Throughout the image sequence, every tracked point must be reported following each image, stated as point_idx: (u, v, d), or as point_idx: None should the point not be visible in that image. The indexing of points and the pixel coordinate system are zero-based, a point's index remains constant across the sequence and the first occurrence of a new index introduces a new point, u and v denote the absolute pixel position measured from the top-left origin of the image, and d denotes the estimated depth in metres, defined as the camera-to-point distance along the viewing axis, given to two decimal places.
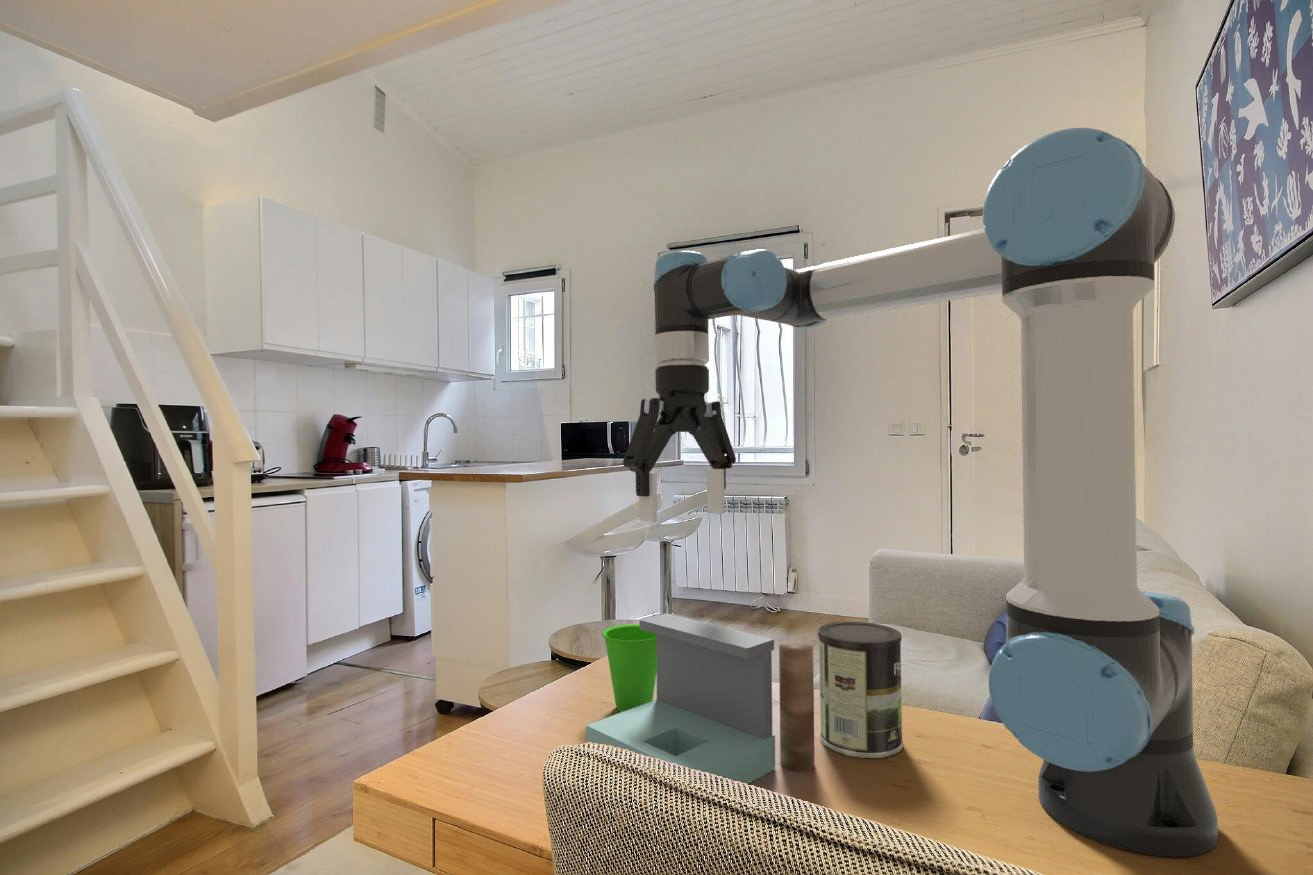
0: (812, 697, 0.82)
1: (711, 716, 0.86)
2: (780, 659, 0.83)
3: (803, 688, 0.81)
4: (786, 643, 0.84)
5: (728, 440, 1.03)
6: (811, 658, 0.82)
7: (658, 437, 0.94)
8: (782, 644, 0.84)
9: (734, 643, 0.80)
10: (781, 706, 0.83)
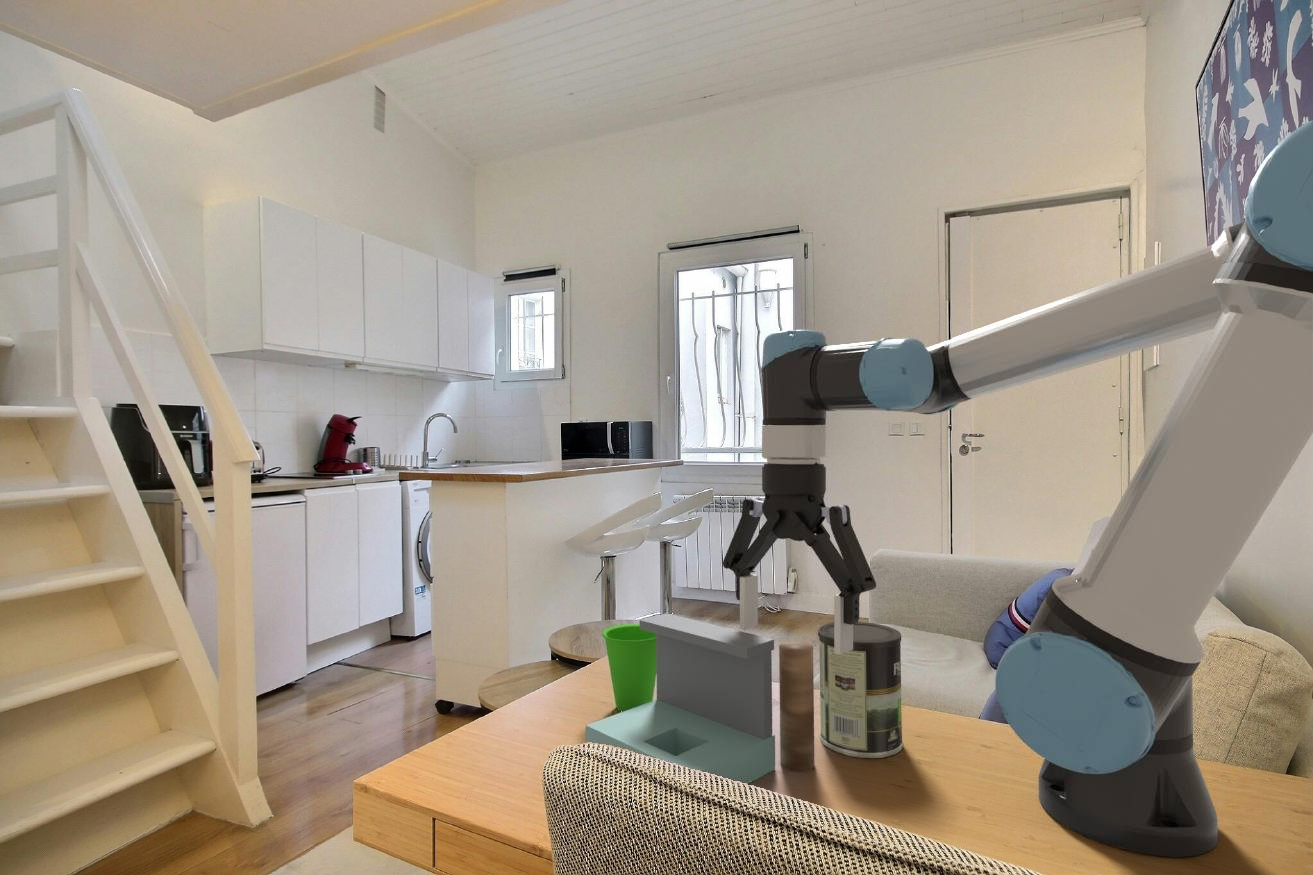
0: (812, 697, 0.82)
1: (711, 716, 0.86)
2: (780, 659, 0.83)
3: (803, 688, 0.81)
4: (786, 643, 0.84)
5: (851, 559, 0.77)
6: (811, 658, 0.82)
7: None
8: (782, 644, 0.84)
9: (734, 643, 0.80)
10: (781, 706, 0.83)
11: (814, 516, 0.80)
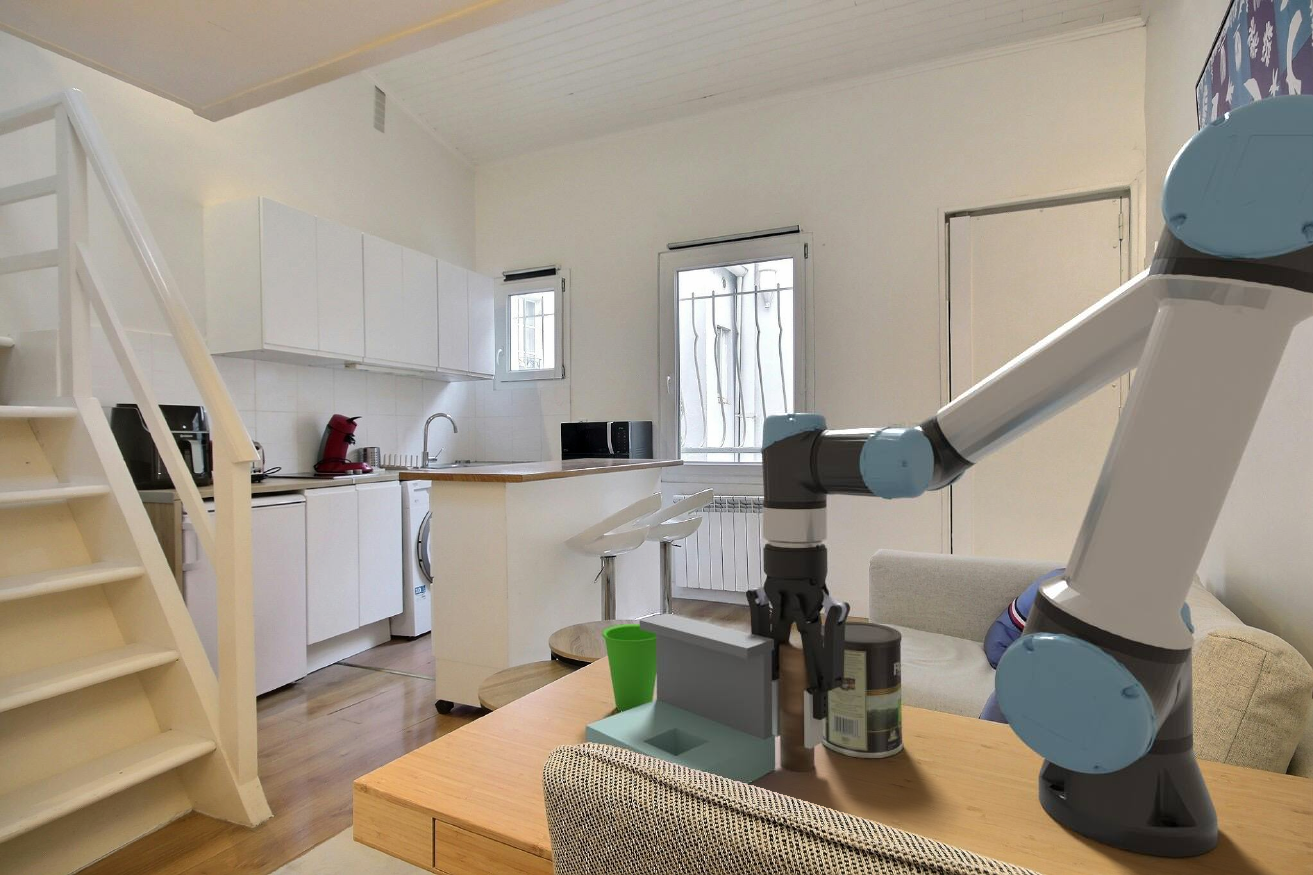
0: None
1: (711, 716, 0.86)
2: (780, 659, 0.83)
3: (803, 688, 0.81)
4: (786, 643, 0.84)
5: (830, 659, 0.78)
6: None
7: None
8: (782, 644, 0.84)
9: (734, 643, 0.80)
10: (781, 706, 0.83)
11: (814, 601, 0.80)
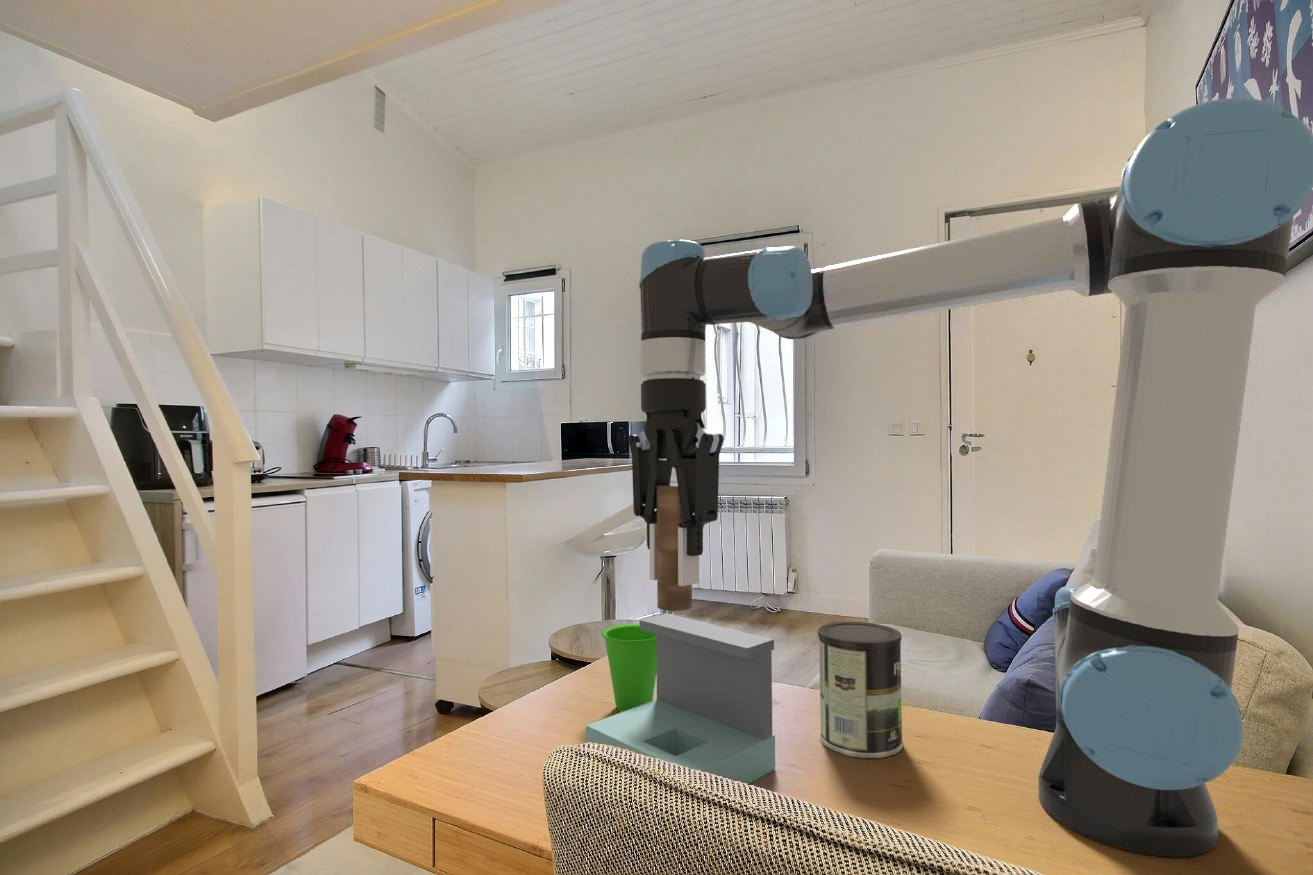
0: None
1: (711, 716, 0.86)
2: (657, 498, 0.80)
3: (678, 525, 0.79)
4: None
5: (701, 490, 0.76)
6: None
7: None
8: (661, 485, 0.81)
9: (734, 643, 0.80)
10: (657, 546, 0.80)
11: (688, 434, 0.77)
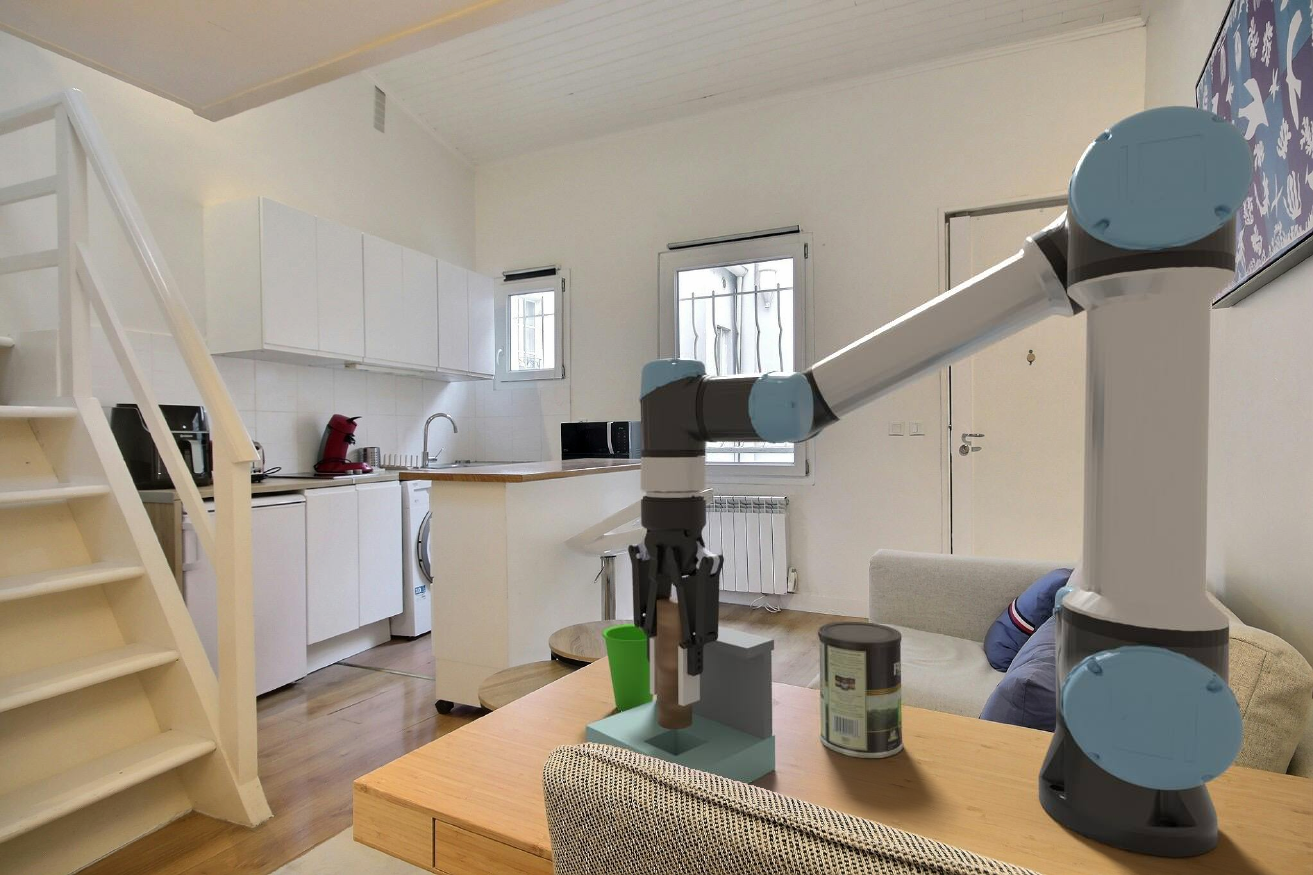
0: None
1: (711, 716, 0.86)
2: (657, 614, 0.80)
3: (678, 643, 0.78)
4: (665, 598, 0.82)
5: (702, 612, 0.76)
6: None
7: None
8: (661, 599, 0.81)
9: (734, 643, 0.80)
10: (657, 662, 0.80)
11: (688, 553, 0.77)
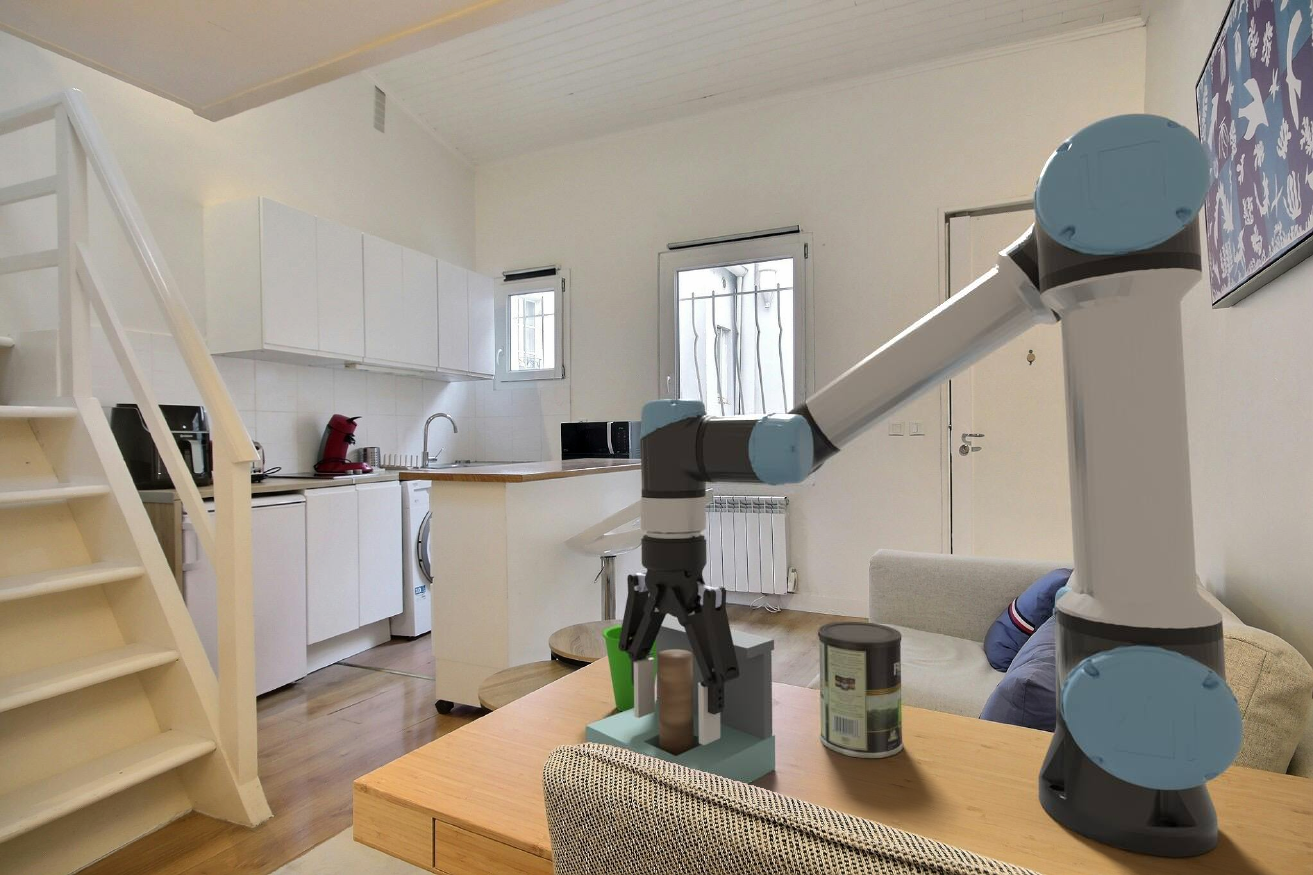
0: (690, 707, 0.79)
1: None
2: (658, 668, 0.80)
3: (679, 698, 0.78)
4: (666, 651, 0.81)
5: (716, 648, 0.74)
6: (689, 667, 0.79)
7: None
8: (662, 652, 0.81)
9: (734, 643, 0.80)
10: (659, 717, 0.80)
11: (690, 593, 0.77)
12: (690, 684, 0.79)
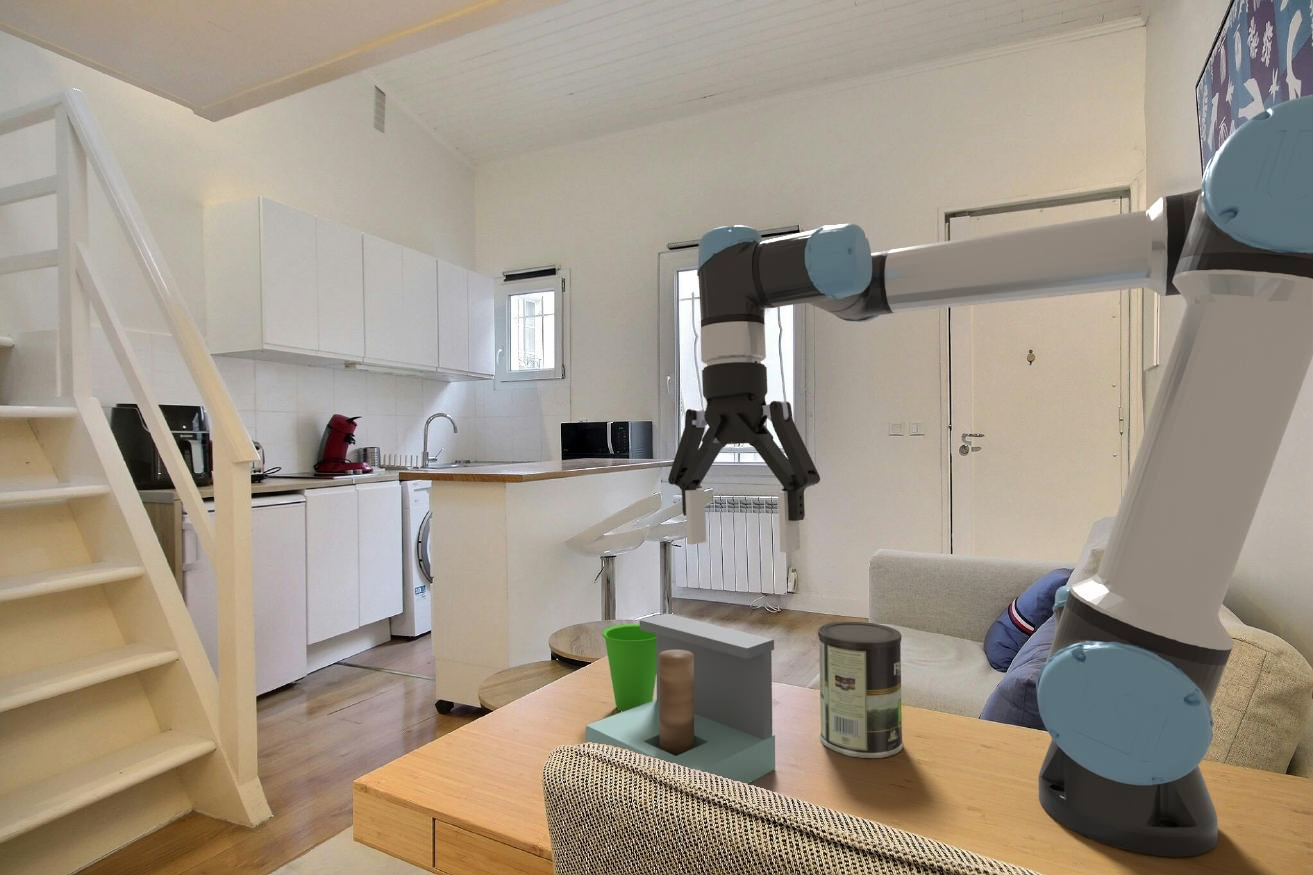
0: (691, 708, 0.79)
1: (711, 716, 0.86)
2: (659, 668, 0.80)
3: (680, 699, 0.78)
4: (667, 651, 0.81)
5: (793, 452, 0.74)
6: (690, 667, 0.79)
7: None
8: (663, 652, 0.81)
9: (734, 643, 0.80)
10: (660, 717, 0.80)
11: (755, 415, 0.78)
12: (691, 684, 0.79)
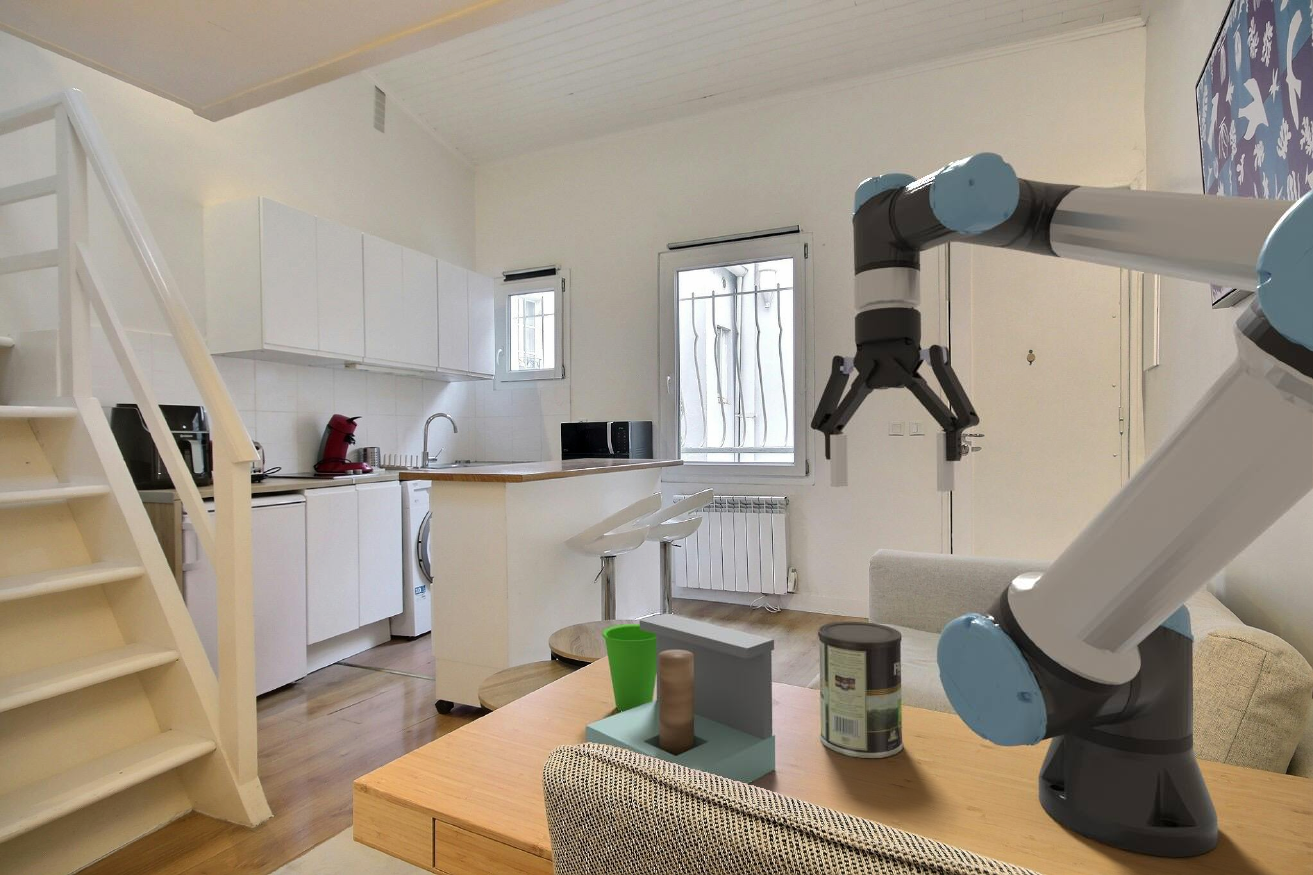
0: (691, 708, 0.79)
1: (711, 716, 0.86)
2: (659, 668, 0.80)
3: (680, 699, 0.78)
4: (667, 651, 0.81)
5: (955, 394, 0.76)
6: (690, 667, 0.79)
7: None
8: (663, 652, 0.81)
9: (734, 643, 0.80)
10: (659, 717, 0.80)
11: (912, 359, 0.80)
12: (691, 685, 0.79)
